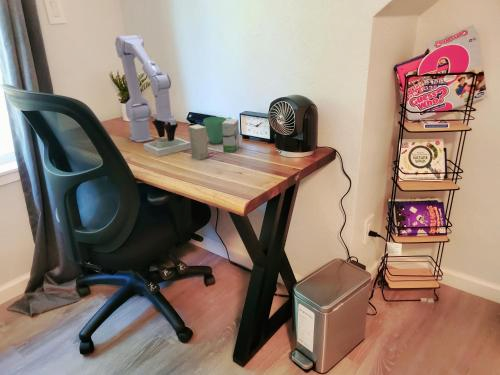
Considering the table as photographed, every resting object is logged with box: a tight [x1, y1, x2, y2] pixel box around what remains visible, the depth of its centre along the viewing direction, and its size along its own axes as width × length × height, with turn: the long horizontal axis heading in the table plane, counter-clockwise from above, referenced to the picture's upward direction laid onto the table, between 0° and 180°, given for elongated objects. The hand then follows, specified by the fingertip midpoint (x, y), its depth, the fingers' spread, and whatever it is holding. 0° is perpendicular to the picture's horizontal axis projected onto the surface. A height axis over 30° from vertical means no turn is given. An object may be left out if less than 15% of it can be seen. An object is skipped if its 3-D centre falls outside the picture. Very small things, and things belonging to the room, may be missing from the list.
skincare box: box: [188, 124, 209, 161], centre depth 150 cm, size 6×4×12 cm
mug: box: [203, 116, 233, 145], centre depth 170 cm, size 15×10×10 cm
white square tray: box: [143, 136, 191, 157], centre depth 162 cm, size 12×15×2 cm
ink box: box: [222, 118, 240, 153], centre depth 158 cm, size 9×5×12 cm, turn 168°
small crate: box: [154, 137, 179, 149], centre depth 162 cm, size 5×8×4 cm, turn 130°
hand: (166, 138), depth 161 cm, fingers open, 7 cm apart
